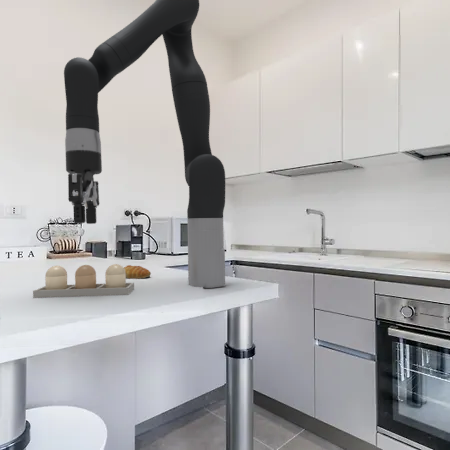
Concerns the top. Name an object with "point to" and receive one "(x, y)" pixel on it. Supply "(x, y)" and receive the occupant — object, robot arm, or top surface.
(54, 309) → the top surface
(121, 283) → the egg
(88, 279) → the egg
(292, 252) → the top surface
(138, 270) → the pastry
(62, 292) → the carton
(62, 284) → the egg
